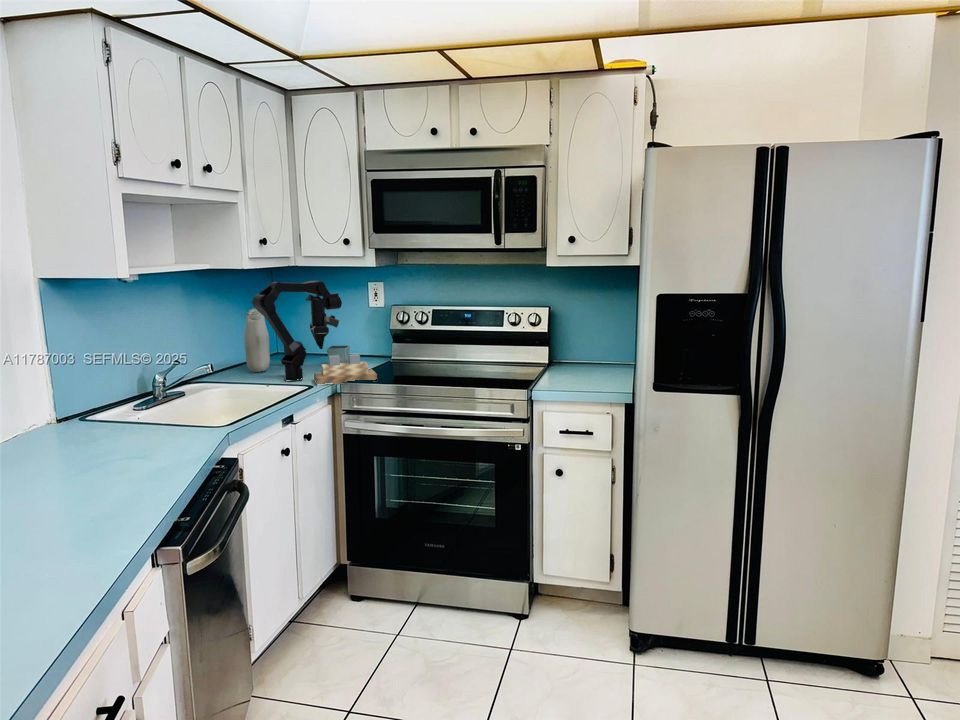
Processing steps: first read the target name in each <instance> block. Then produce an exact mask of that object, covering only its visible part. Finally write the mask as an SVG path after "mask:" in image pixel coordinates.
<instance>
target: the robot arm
mask: <svg viewBox="0 0 960 720" xmlns="http://www.w3.org/2000/svg"><path fill="white" fill-rule="evenodd" d="M283 292H284V293H285V292H287V293H303V294H304V293H305V294H308V296H307V297H306V298H305V301H308V302H310V317H311V319H310V320H311V322H310V323H309V331H310V332H311V335H312V337H313V339H314V342H315V343H316V346H318V348H319V350H323V349H324V342H325V337H326V336H328V335H329V333H330V329H329V326H332V327H334V328H336V329H337V328H338V326H339V322H340V320H339V319H337V318H336V316H335V315H333V314H331V315H330V316H327V313H326V310H327V311H329V310H339V309H341V307H342V304H343V301H342V299H341V297H340V296H339V292H335V293H330V291H329V289H327V285H326V284H325V282H324V281H322V280H310V281H309V280H308V281H304V282H280V281H273V282H271V283H270V284H268V286H266V287H265V288H264V289H262V290H260V292H259V293H258V294H255V295H254V296H253V298H252V300H251V304H252V306H253V307H254V309H256V310H257V311H258V312H260V313H261V314H262V315H263V316H264V318H266V319H265V320H266V321H267V322H268V324H269V325H270V326H271V328H272V329H273V331H274V333H275V334H276V336H277V338H278V339H279V340H280V342H281V344H282V345H283V352H284V353H285V354H284V356H283V357H282V358H281V360H280V362H281V365H282V366H284V380H285V379H286V380H297V379H301V378H302V379H303V378H304V375H303V374H304V371H303V368H302V366H304V363H305V359H306V357H307V352H306V351H307V348H305V346H304V344H303V343H302V341H300V340H299V341H298V340H295V339H294V338H293V336H292V335H291V334H290V331H289V330H288V329H287V327H286V326H285V324H284V323H283V321H282V320H281V317H280V316H279V314H278V313H277V308H276V307H277V306H276V304H275V302H276V301H277V300H278V298H279V296H280V294H281V293H283ZM315 295H316V296H315Z"/></svg>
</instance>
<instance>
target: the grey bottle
mask: <svg viewBox="0 0 960 720" xmlns="http://www.w3.org/2000/svg"><path fill="white" fill-rule="evenodd" d="M265 318H266V317H265V316H263V315H262V314H261V313H260V312H258V311H257V310H256V308H250V309H249V310H247V312H246V315H245V328H244V332H243V333H244V336H243V337H244V338H243V341H244V351H245V352H244V353H245V362H246V366H247V368H248V369H249V370H250V371H252V372H254V373H262V372H261V371H263V372H264V371H266V370H267V369H268V368H269V366H270V364H271V352H270V336H269V331H268V328H267V324H266V319H265Z"/></svg>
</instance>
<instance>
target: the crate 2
mask: <svg viewBox="0 0 960 720" xmlns="http://www.w3.org/2000/svg"><path fill="white" fill-rule="evenodd" d="M360 362H361V355H360V354H359V353H352V354H350V353H349V359H348V363H349V364H350V365H352V364H360Z"/></svg>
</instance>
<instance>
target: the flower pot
mask: <svg viewBox="0 0 960 720" xmlns="http://www.w3.org/2000/svg"><path fill="white" fill-rule="evenodd" d="M350 349H351V347H350V344H347V345H345V344H344V345H330V346H329V347H327V348H326V353H327V358H328V360H329V356H334V355H339V356H340V363H349V355H350V351H351V350H350Z"/></svg>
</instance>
